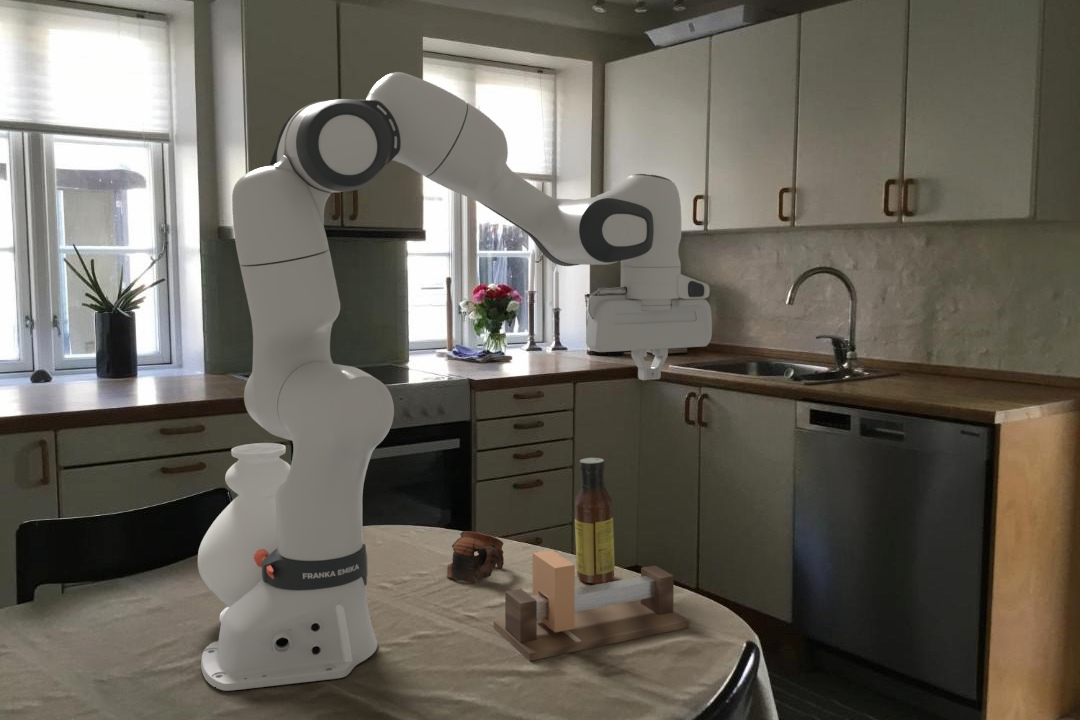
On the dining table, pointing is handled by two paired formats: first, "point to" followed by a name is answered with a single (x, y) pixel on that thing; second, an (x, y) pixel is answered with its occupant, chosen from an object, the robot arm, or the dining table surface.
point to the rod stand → (593, 615)
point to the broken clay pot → (470, 564)
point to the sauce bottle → (594, 525)
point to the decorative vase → (244, 522)
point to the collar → (555, 588)
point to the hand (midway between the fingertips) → (649, 379)
